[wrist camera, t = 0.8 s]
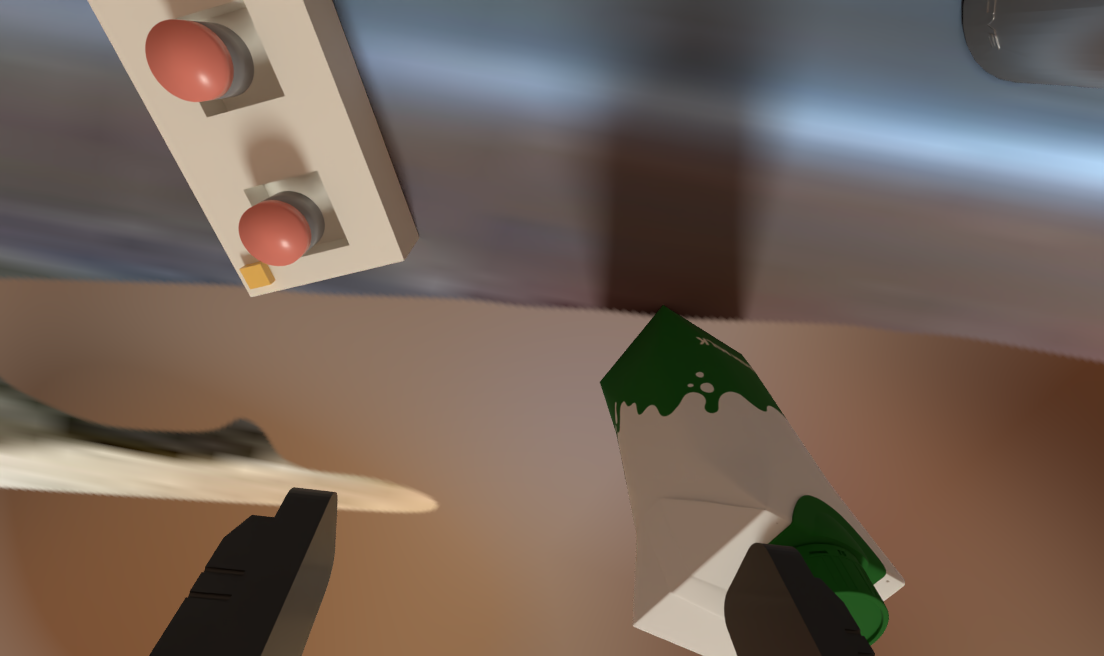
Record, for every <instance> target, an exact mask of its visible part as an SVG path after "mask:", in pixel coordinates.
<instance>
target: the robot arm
mask: <svg viewBox="0 0 1104 656" xmlns="http://www.w3.org/2000/svg"><path fill="white" fill-rule="evenodd" d="M963 29H964V34H965V38H966V43H967V46H968V48H969V50H970V52H971V54H972V56H973V58H974V60H975V61H976V62H977V63H978V64H979V65H980V66H981V67H982V68H983V69H984V70H985V71H986V72H988V73H989V74H991V75H993V76H995V77H997V78H999V79H1002V80H1006V81H1011V82H1016V83H1030V84H1045V85H1059V86H1074V87H1083V88H1098V89H1104V0H964V4H963ZM336 519H337V493H336V492H329V491H321V490H312V489H303V488H295V487H293V488H292V489H291V490H290V491H289V492H288V494H287V495H286V497H285V499H284V501H283V503H282V504H281V506H280V508H279V510H278V512H277V514H276V516H275V517H266V516H257V515H251V516H250V517H249V518H248V519H246V520H245V521H244V522H243V523H241V524H240V525H239V526H238V527H236V528H235V529H234V530H233V531H231V533H229V534H228V535H227V536H225V537H224V538H223V540H222V541H221V543H220V544H219V546H218V548H217V549H216V551H215V552H214V554H213V556H212V557H211V559H210V560H209V562H208V563H207V565H206V567H205V571H204V572H202V573H201V574H200V576H199V578H198V579H197V581H196V582H195V584H194V585H193V587H192V589H191V590H190V594H189V596H188V598H185V600H184V601H183V603H182V604H181V606H180V608H179V609H178V611H177V612H176V614H175V616H174V617H173V619H172V620H171V622H170V624H169V625H168V627H167V628H166V630H165V631H164V633H163V635H162V636H161V638H160V639H159V641H158V642H157V644H156V646H155V647H154V649H153V650H152V652H151V654H150V655H149V656H302V653H303V650H304V647H305V645H306V642H307V639H308V637H309V634H310V631H311V629H312V626H313V623H314V621H315V618H316V615H317V613H318V610H319V607H320V604H321V602H322V599H323V596H324V594H325V591H326V588H327V585H328V582H329V578H330V574H331V570H332V566H333V561H334V553H335V539H336V538H335V537H336ZM724 617H725V623H726V627H727V630H728V632H729V635H730V638H731V641H732V643H733V646H734V649H735V651H736V654H737V656H875V653H874V651H873V650H872V648H871V646H870V645H869V643H868V641H867V640H866V638H865V636H862V635H861V633H860V631H861V630H860V628H859V627H858V625H857V623H856V622H855V620H854V618H853V617H852V615H851V613H850V612H849V610H848V608H847V607H846V605H845V604H844V602H843V601H842V600H841V599H840V598H839V597H838V596H837V595H836V594H835V593H834V592H833V591H832V590H831V589H830V588H829V587H828V586H827V585H826V584H825V583H824V582H823V581H822V580H821V579H820V578H815V577H814V576H813V574H812V573H811V571H810V569H809V567H808V566H807V564H806V562H805V560H804V559H803V557H802V555H801V554H800V552H799V551H798V550H797V549H795V548H794V547H790V546H782V545H773V544H764V543H754V544H752V545H751V546H750V547H749V549H748V551H747V553H746V555H745V557H744V559H743V561H742V563H741V565H740V567H739V569H738V571H737V573H736V575H735V577H734V579H733V581H732V583H731V585H730V587H729V589H728V591H727V593H726V596H725V601H724Z"/></svg>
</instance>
